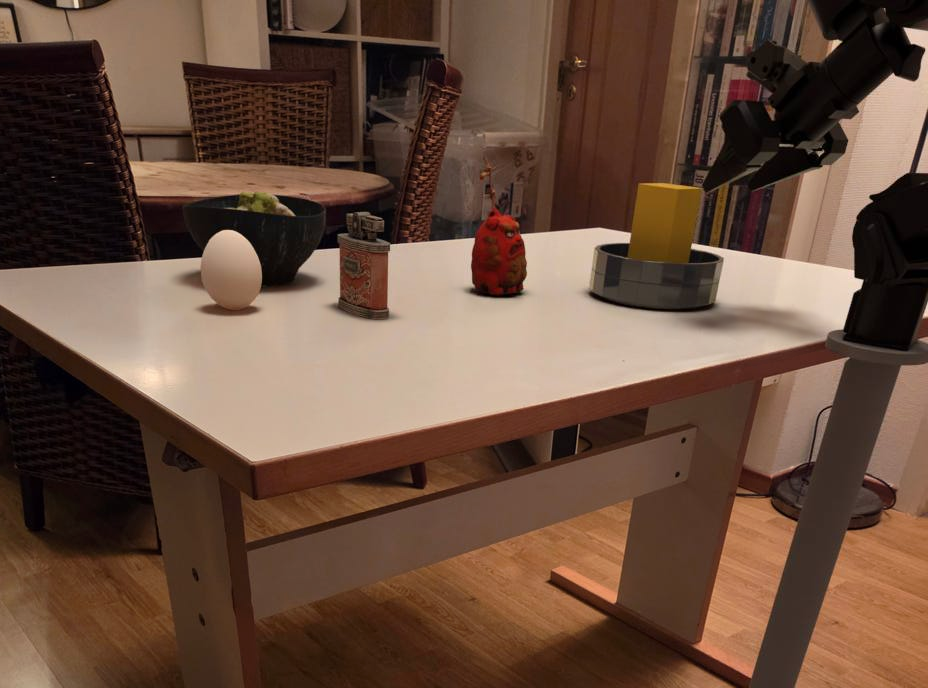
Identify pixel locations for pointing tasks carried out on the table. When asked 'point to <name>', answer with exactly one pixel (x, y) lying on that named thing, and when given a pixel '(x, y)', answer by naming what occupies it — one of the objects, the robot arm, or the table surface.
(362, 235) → the lighter
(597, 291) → the slate bowl
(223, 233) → the egg
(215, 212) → the bowl
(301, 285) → the table surface
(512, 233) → the red clay folk toy
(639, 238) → the sponge
